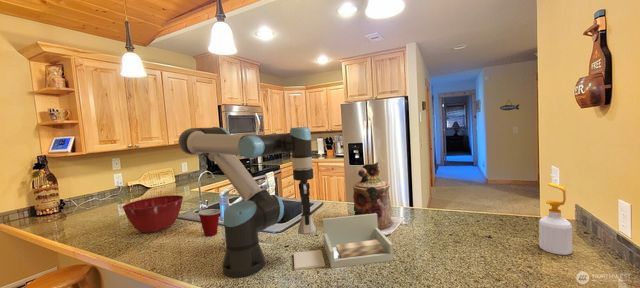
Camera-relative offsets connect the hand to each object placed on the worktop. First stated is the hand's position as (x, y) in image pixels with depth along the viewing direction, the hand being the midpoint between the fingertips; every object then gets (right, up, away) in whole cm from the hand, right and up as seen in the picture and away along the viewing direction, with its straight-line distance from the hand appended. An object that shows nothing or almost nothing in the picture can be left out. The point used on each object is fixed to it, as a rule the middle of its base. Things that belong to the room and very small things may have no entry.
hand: (306, 229), depth 101 cm
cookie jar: (+32, -9, +33) cm, 46 cm away
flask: (0, -1, 0) cm, 1 cm away
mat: (+1, -12, +1) cm, 12 cm away
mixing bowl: (-86, -15, +48) cm, 99 cm away
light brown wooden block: (+20, -11, -1) cm, 23 cm away
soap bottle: (+91, -7, -2) cm, 92 cm away
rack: (+19, -11, +4) cm, 22 cm away
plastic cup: (-50, -13, +34) cm, 62 cm away
